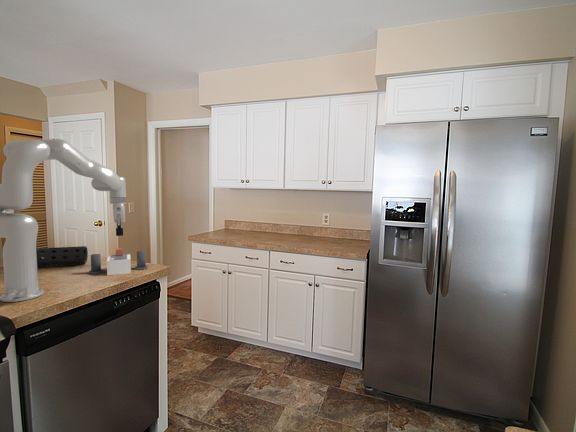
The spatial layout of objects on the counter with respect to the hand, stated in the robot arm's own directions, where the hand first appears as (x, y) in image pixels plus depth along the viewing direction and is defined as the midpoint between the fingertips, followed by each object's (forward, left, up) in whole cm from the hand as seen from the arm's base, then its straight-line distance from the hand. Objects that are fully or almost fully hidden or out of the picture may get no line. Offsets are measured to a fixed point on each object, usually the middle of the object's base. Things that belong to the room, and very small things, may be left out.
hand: (119, 235), depth 161 cm
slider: (-6, 0, -9) cm, 11 cm away
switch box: (-10, 0, -17) cm, 19 cm away
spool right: (-9, -10, -17) cm, 21 cm away
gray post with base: (-9, +10, -17) cm, 22 cm away
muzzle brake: (+13, +30, -17) cm, 37 cm away
